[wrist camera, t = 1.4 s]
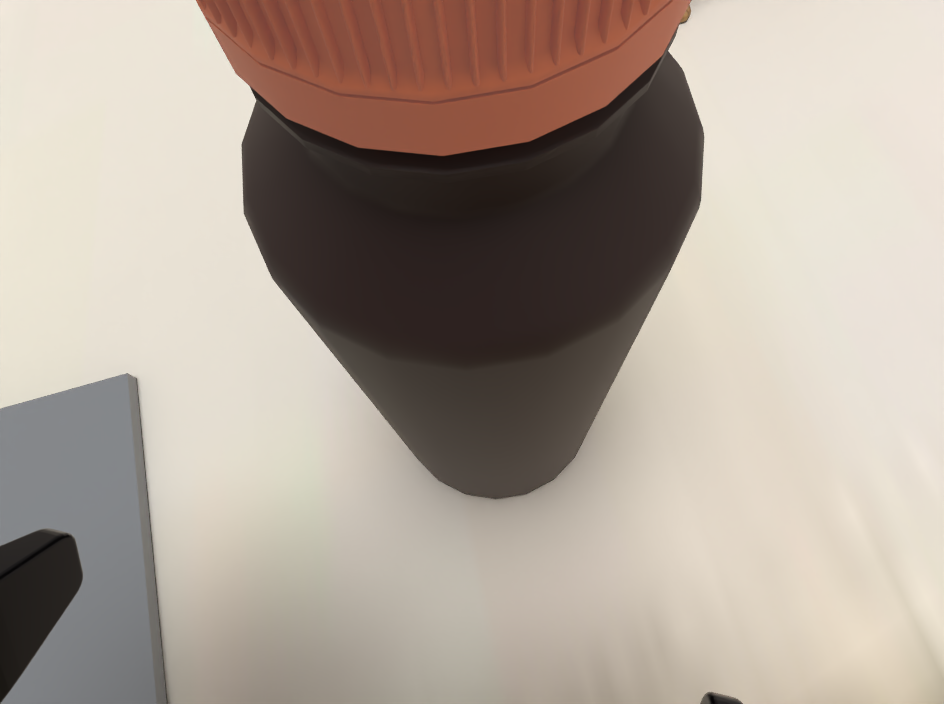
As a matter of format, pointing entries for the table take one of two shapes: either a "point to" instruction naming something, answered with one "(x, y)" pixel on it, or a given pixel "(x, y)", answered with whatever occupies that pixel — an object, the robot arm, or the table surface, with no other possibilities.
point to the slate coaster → (87, 541)
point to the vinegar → (469, 205)
